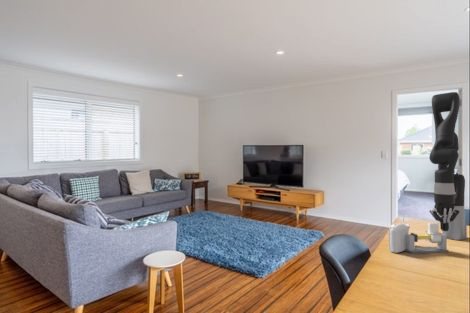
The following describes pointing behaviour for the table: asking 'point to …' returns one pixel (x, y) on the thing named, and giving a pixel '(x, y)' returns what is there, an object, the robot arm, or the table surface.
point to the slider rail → (419, 250)
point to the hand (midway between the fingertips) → (444, 230)
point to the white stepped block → (434, 233)
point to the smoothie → (406, 225)
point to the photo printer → (397, 237)
